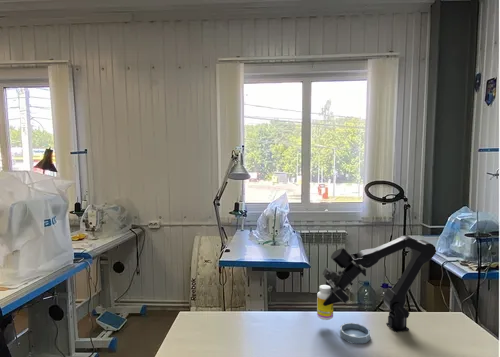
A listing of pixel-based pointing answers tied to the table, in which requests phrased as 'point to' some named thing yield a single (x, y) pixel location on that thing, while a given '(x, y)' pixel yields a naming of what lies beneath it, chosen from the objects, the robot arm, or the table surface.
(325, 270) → the robot arm
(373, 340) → the table surface
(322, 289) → the supplement bottle
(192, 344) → the table surface
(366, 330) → the round tray
